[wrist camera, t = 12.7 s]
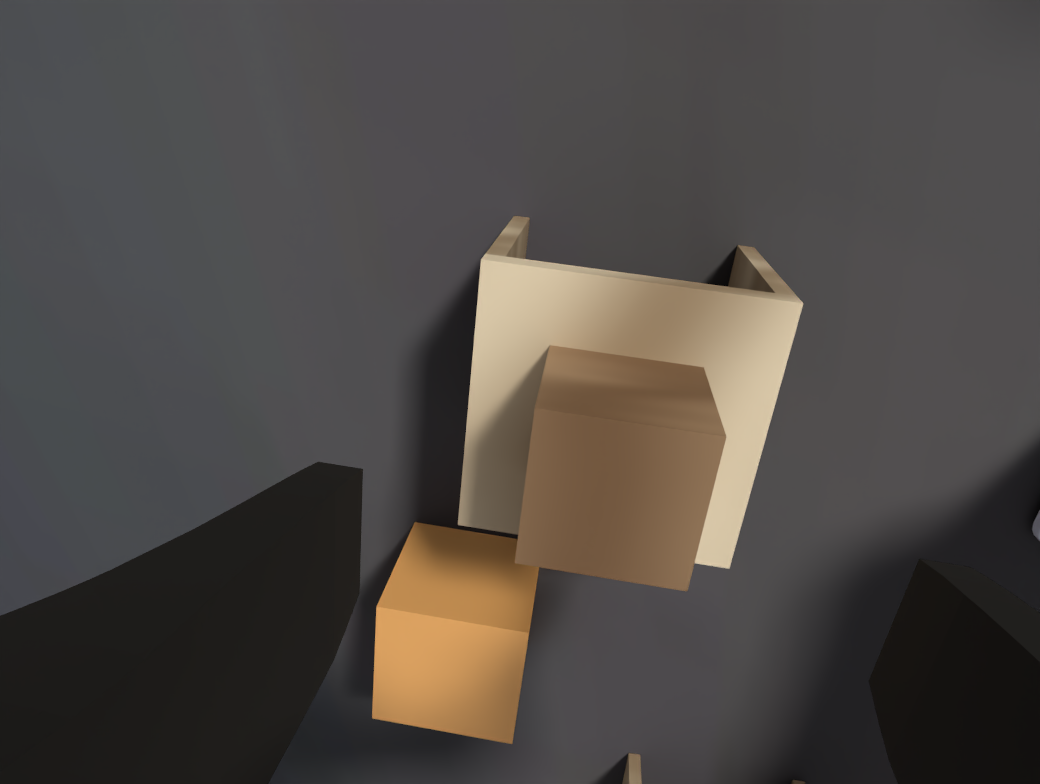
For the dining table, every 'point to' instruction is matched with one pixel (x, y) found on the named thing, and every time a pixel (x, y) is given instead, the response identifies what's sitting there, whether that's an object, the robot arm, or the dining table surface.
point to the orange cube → (453, 633)
